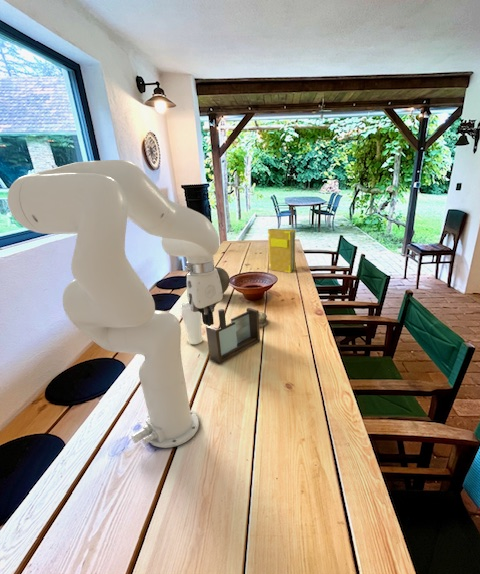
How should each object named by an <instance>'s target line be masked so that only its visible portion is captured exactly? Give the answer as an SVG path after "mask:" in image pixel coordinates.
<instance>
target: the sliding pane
mask: <svg viewBox="0 0 480 574" xmlns="http://www.w3.org/2000/svg"><path fill="white" fill-rule="evenodd" d="M225 310H226V309H223V308H221V309H218V321H219V328H218V329H219V338H220V347H221V356H222V355H224V354H226V353H228V352H230V351H231V350H233V349H235V348H237V337H236V326H235V322H232V323H231V322H229V323H227V321H226V312H225Z"/></svg>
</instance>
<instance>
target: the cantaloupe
mask: <svg viewBox="0 0 480 574" xmlns="http://www.w3.org/2000/svg"><path fill="white" fill-rule="evenodd" d="M214 268H215V269H217V271H218V274H219V277H220V281H221V286H222V293H223V294H225V293H226V291H227V289H228V288H229V286H230V281H231V280H230V275H229V273H228V272H227V271H226V270H225V269H223V268H222V267H217V266H214Z"/></svg>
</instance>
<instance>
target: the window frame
mask: <svg viewBox="0 0 480 574" xmlns="http://www.w3.org/2000/svg"><path fill="white" fill-rule="evenodd" d="M259 312H260V311H259V310H258V309H256V308H255V309H254V308H251V307H247V308H246V309H245V312H243V313H241V314H239V315H237V316H234V317H232V318H231V319H230V323H232V322H235V326H236V337H237V348H235V349H233V350H231V351H230V352H228V353H226V354H224V355H222V356H221V347H220V338H219V328H217V327H214V326H212V325H211V326H208V325H206V326H205V330H206V339H207V346H208V355H209V360H210V361H212V362H214V363H216V364H218V365H221V364H223V363H225V362H227V361H228V360H230V359H232V358H234V357H235V356H238V355H239V354H240V353H243V352H244V351H246V350H248V349H250V348H251V347H254V346H255V345H257V344H259V343H260V342H261V331H260V330H261V329H260V327H259Z"/></svg>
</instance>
